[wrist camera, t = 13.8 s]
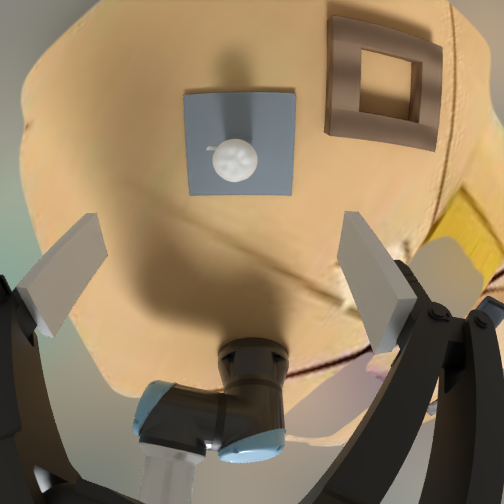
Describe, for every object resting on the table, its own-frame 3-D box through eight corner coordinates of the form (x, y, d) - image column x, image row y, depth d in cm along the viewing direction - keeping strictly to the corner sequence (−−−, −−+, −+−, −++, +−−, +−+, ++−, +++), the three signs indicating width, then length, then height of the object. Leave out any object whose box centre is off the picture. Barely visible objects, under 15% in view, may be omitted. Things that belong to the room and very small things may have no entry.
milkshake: (229, 119, 32) (220, 128, 24) (264, 142, 34) (267, 160, 25) (209, 147, 34) (193, 166, 26) (243, 169, 36) (239, 196, 27)
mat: (291, 194, 38) (291, 195, 38) (190, 194, 38) (189, 195, 38) (295, 93, 31) (296, 93, 30) (184, 95, 31) (183, 95, 30)
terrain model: (463, 380, 74) (466, 386, 71) (468, 388, 80) (470, 393, 77) (421, 407, 82) (423, 413, 79) (429, 412, 88) (431, 418, 85)
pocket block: (424, 147, 33) (435, 152, 31) (324, 132, 33) (330, 135, 31) (431, 48, 25) (442, 46, 22) (327, 20, 25) (333, 15, 22)
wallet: (513, 310, 52) (482, 346, 59) (510, 306, 53) (479, 342, 61) (490, 296, 48) (453, 339, 56) (487, 291, 50) (450, 334, 57)
